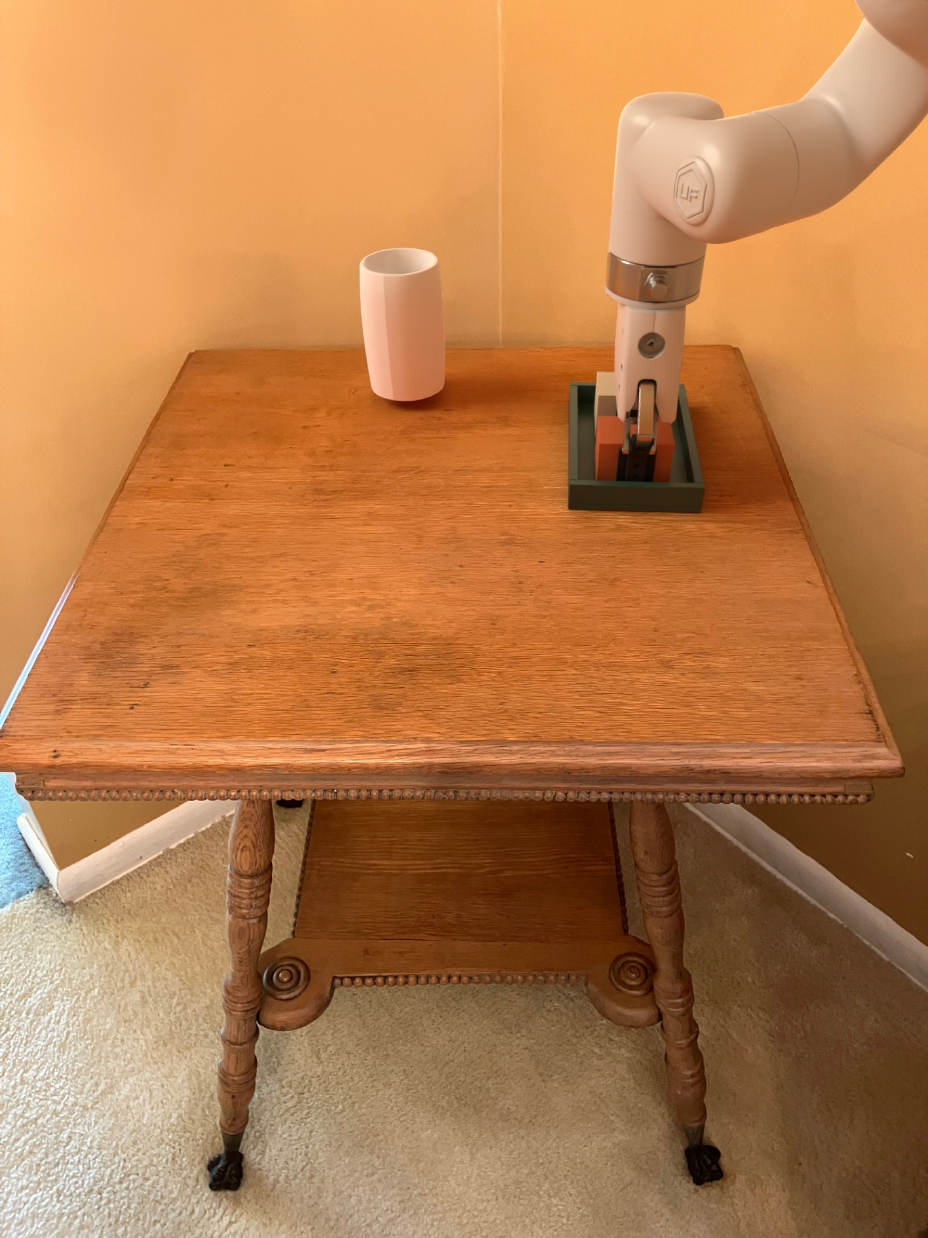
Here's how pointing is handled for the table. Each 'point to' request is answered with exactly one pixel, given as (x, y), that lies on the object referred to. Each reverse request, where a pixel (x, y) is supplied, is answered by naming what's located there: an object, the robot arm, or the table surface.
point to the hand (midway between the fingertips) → (631, 465)
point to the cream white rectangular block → (605, 396)
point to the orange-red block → (612, 440)
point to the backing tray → (627, 495)
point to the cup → (403, 323)
